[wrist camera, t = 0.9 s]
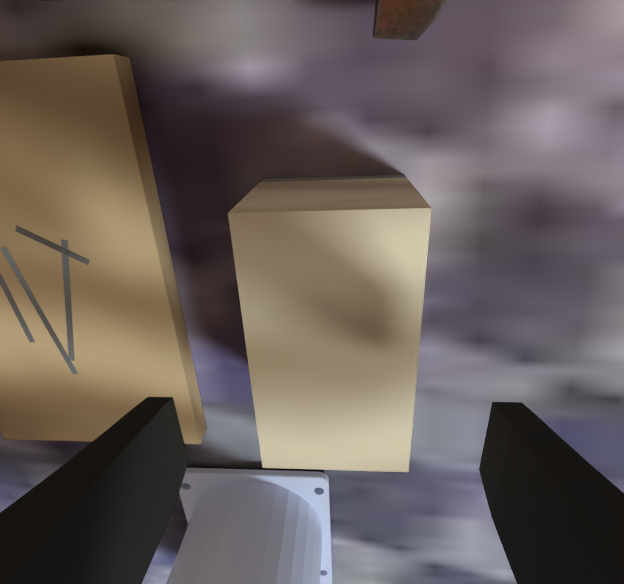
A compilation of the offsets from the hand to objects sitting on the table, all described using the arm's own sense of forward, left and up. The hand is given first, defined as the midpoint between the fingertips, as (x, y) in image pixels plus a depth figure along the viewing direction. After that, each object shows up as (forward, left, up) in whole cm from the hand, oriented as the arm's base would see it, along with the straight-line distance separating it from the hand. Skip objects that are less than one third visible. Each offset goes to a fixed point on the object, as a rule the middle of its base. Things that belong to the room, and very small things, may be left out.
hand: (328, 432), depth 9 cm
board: (0, +12, -8) cm, 14 cm away
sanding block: (0, 0, -8) cm, 8 cm away
